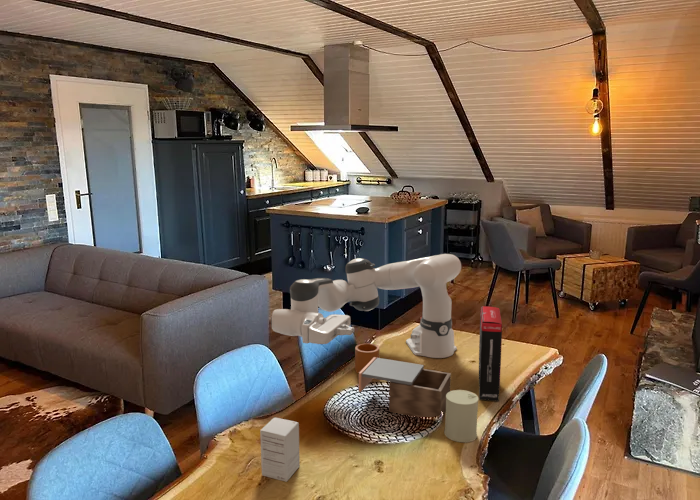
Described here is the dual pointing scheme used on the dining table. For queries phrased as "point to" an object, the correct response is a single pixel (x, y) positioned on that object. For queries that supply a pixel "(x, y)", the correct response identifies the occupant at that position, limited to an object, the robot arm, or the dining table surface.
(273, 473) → the supplement box
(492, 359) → the graphics card box
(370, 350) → the mug
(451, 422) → the can
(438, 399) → the walnut box
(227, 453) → the dining table surface
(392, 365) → the lid
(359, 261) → the robot arm
